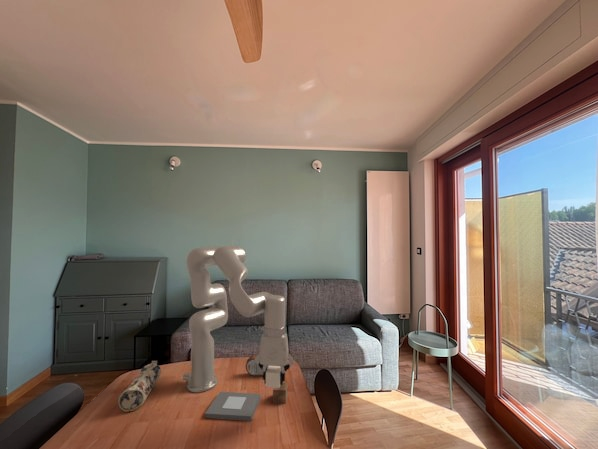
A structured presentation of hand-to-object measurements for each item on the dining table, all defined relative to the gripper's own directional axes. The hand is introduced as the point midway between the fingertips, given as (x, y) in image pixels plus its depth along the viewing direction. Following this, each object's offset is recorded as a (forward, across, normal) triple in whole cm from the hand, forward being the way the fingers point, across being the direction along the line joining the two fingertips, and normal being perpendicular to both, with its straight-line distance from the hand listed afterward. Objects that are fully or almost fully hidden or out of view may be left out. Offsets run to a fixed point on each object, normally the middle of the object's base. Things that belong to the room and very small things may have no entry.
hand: (274, 381), depth 91 cm
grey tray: (+13, -16, +4) cm, 20 cm away
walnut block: (+12, +1, +10) cm, 16 cm away
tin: (+13, -11, +27) cm, 32 cm away
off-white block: (+1, 0, 0) cm, 1 cm away
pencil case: (+14, -56, +6) cm, 58 cm away
